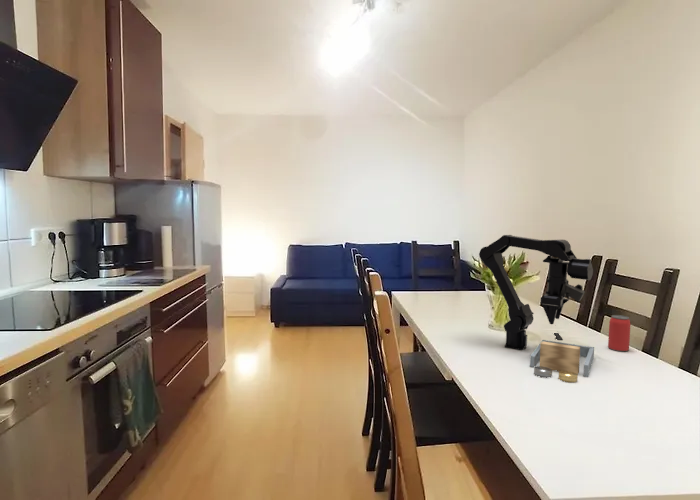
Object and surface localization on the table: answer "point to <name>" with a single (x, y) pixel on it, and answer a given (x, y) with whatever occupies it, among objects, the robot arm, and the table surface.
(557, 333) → the cleaver
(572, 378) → the brass token
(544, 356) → the wooden plank block
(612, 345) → the beer can
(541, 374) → the gunmetal token
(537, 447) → the table surface
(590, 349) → the cubby
